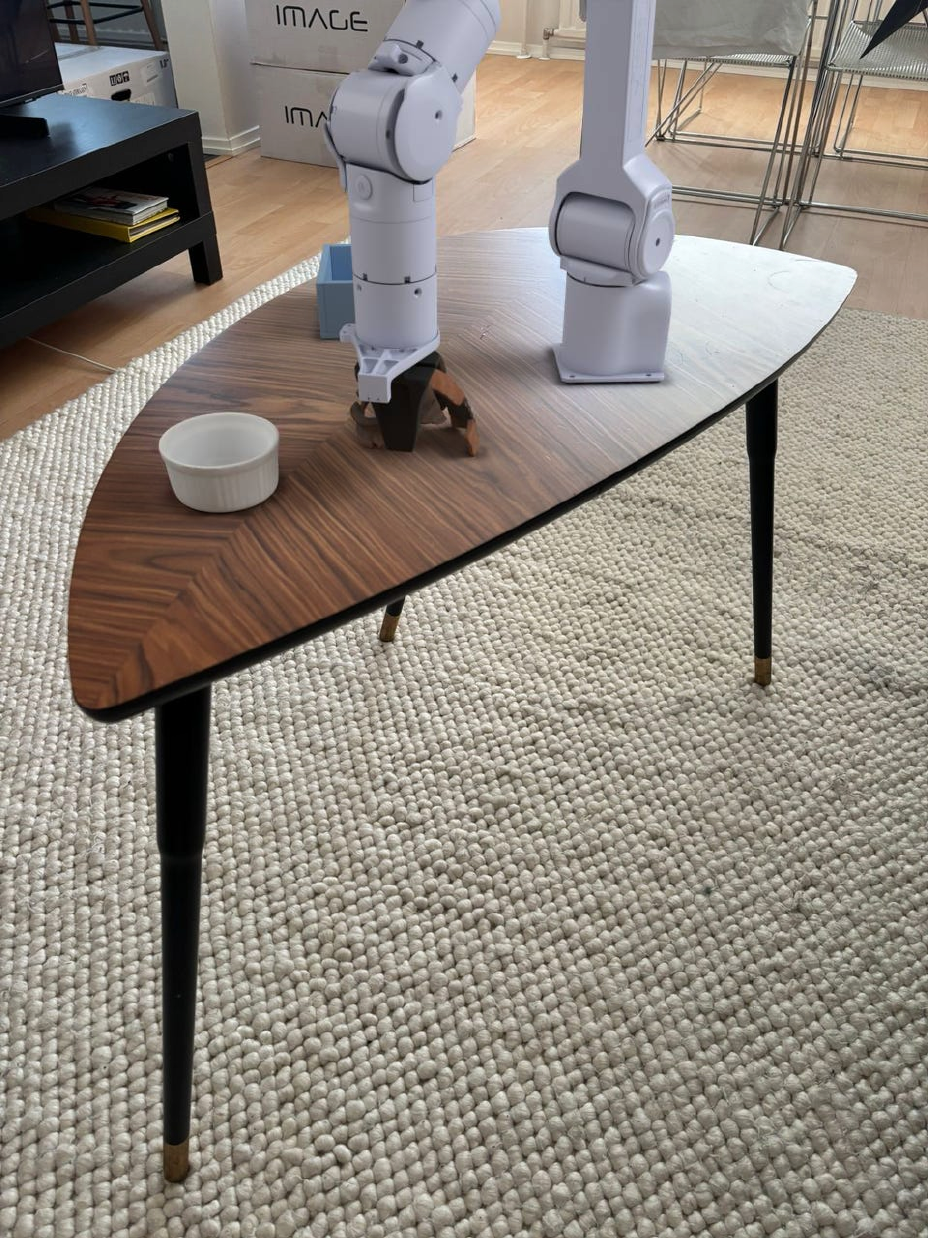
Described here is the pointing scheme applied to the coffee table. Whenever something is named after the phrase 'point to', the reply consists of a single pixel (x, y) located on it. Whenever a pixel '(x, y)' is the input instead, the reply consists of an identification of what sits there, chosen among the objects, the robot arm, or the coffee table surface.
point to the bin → (335, 290)
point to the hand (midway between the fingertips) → (400, 448)
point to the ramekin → (222, 460)
